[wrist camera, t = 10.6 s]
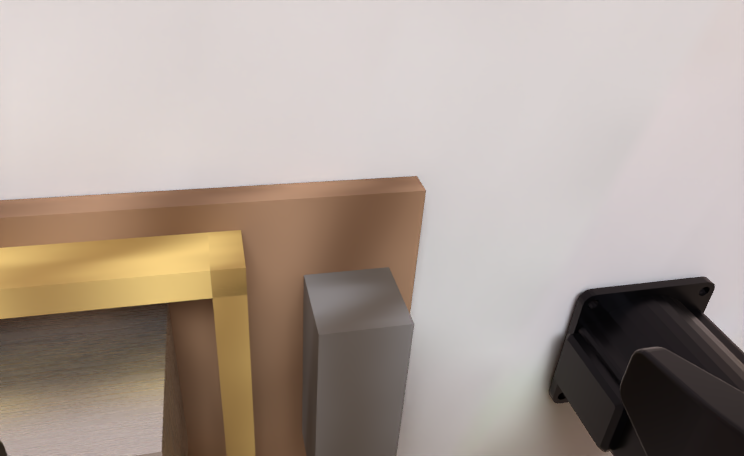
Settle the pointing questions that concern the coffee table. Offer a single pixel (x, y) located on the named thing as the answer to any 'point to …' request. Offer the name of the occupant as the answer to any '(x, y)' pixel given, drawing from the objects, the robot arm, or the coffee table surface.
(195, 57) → the coffee table surface
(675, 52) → the coffee table surface
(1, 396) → the brushed metal block
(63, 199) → the chassis
